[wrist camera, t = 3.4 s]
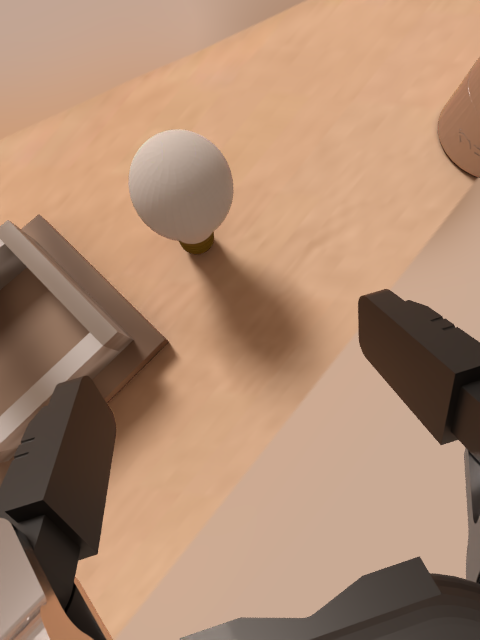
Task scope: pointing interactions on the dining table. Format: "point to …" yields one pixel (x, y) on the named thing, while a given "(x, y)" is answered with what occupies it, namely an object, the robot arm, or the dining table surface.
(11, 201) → the dining table surface
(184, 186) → the light bulb
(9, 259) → the frame
